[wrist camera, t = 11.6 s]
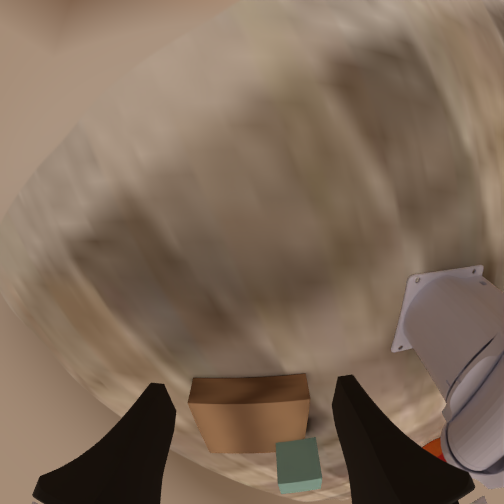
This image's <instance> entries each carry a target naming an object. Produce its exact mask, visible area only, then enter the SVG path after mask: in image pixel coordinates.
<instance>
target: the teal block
mask: <svg viewBox="0 0 504 504" xmlns="http://www.w3.org/2000/svg"><path fill="white" fill-rule="evenodd" d="M276 457H277V476H278V486H279V488H280V491H281V494H286V493H295V492H302V491H309V490H315V489H321V483H322V474H321V468H320V461H319V455H318V449H317V443H316V437H314V438H308V439H301V440H294V441H287V442H278V443H276Z"/></svg>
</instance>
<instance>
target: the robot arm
mask: <svg viewBox="0 0 504 504" xmlns="http://www.w3.org/2000/svg"><path fill="white" fill-rule="evenodd" d="M474 269H475V271H474V273H472V272H473V270H474ZM482 273H483V265H476V266H469V267H463V268H456V269H449V270H442V271H435V272H428V273H420V274H413V275H411V276H409V278H408V279H407V284H406V289H405V294H404V298H403V303H402V308H401V312H400V316H399V320H398V324H397V328H396V332H395V336H394V339H393V343H392V346H391V351H392V352H399V351H403V350H407V349H411V348H413V349H414V350H415V352H416V353H417V355H418V356H419V358H420V360H421V361H422V363H423V364H424V366H425V368H426V369H427V371H428V372H429V374H430V376H431V377H432V379H433V381H434V382H435V384H436V386H437V388H438V389H439V391H440V393H441V394H442V396H443V398H444V400H445V401H446V403H447V404H446V406H445V408H444V409H443V411H442V414H443V416H444V418H445V420H446V423H445V425H444V427H443V429H442V432H441V439H440V441H441V449H442V453H443V455H444V458H445V459H446V461H447V462H445V461H443V460H441V459H439V458H438V457H436V456H434V455H433V454H431V453H430V452H428V451H427V450H425V449H423V448H422V447H421V446H419V445H418V444H417V443H415V442H414V441H413V440H411V439H410V438H409V437H408V436H407V435H405V434H404V433H403V432H402V431H401V430H400V429H399V428H398V427H397V426H395V425H394V424H393V423H392V422H391V421H390V420H389V418H388V417H387V416H386V415H385V414H384V413H383V412H382V411H381V410H380V409H379V407H378V406H377V405H376V404H375V403H374V402H373V400H372V399H371V398H370V397H369V396H368V394H367V393H366V392H365V390H364V389H363V388H362V387H361V385H360V384H359V383H358V381H357V380H356V378H355V377H354V376H353V375H346V376H340V377H338V379H337V384H336V388H335V393H334V398H333V402H332V409H333V416H334V422H335V427H336V430H337V434H338V437H339V441H340V444H341V447H342V451H343V454H344V458H345V461H346V465H347V469H348V474H349V481H350V488H351V497H352V504H459V502H458V500H459V499H461V498H462V497H464V496H465V495H467V494H468V493H470V492H471V491H473V490H474V488H475V485H474V483H473V480H472V478H474V479H476V480H478V481H480V482H481V483H482V484H484V486H486V487H487V488H488V489H495V488H502V487H504V293H503V292H502V291H501V290H499V289H498V288H497V287H496V286H495V285H493V284H492V283H491V282H489V281H488V280H487V279H486V278H484V277H483V276H482ZM418 277H419V278H420V279H419V281H418V282H415V280H416V279H417V278H418ZM400 346H402V347H401V348H400V349H398V348H399V347H400ZM175 418H176V409H175V407H174V405H173V403H172V401H171V398H170V396H169V394H168V392H167V390H166V387H165V385H164V384H160V383H150V384H149V386H148V387H147V388H146V389H145V391H144V392H143V393H142V394H141V396H140V397H139V398H138V399H137V401H136V402H135V403H134V404H133V406H132V407H131V408H130V409H129V410H128V412H127V413H126V414H125V415H124V416H123V417H122V419H121V420H120V421H119V422H118V423H117V424H116V425H115V426H114V427H113V428H112V429H111V430H110V431H109V432H108V433H107V434H106V435H105V436H104V437H103V438H102V439H101V440H100V441H99V442H98V443H96V444H95V445H94V446H93V447H91V448H90V449H89V450H87V451H86V452H85V453H83V454H82V455H81V456H79V457H78V458H76V459H74V460H73V461H71V462H69V463H68V464H66V465H64V466H62V467H60V468H59V469H56V470H54V471H52V472H49V473H47V474H44V475H42V476H40V477H39V480H38V482H37V485H36V487H35V489H34V492H33V494H32V495H33V497H34V498H36V499H37V500H39V501H40V502H42V503H44V504H160V497H161V486H162V478H163V472H164V467H165V464H166V460H167V456H168V452H169V448H170V444H171V440H172V437H173V433H174V427H175ZM32 504H37V503H35V502H32ZM471 504H487V502H486V499H485V497H484V496H482V497H480V498H479V499H477V500H476V501H474V502H472V503H471Z"/></svg>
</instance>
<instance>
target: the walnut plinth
mask: <svg viewBox="0 0 504 504" xmlns="http://www.w3.org/2000/svg"><path fill="white" fill-rule="evenodd" d="M188 405H189V408H190V410H191V412H192V415H193V417H194V419H195V422H196V424H197V426H198V428H199V430H200V433H201V435H202V437H203V439H204V441H205V443H206V445H207V447H208V450H209V452H210V453H269V452H276V443H278V442H287V441H294V440H301V439H305V434H306V427H307V420H308V413H309V406H310V395H309V389H308V384H307V379H306V374H297V375H286V376H272V377H255V378H193V381H192V386H191V390H190V395H189V399H188Z"/></svg>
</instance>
